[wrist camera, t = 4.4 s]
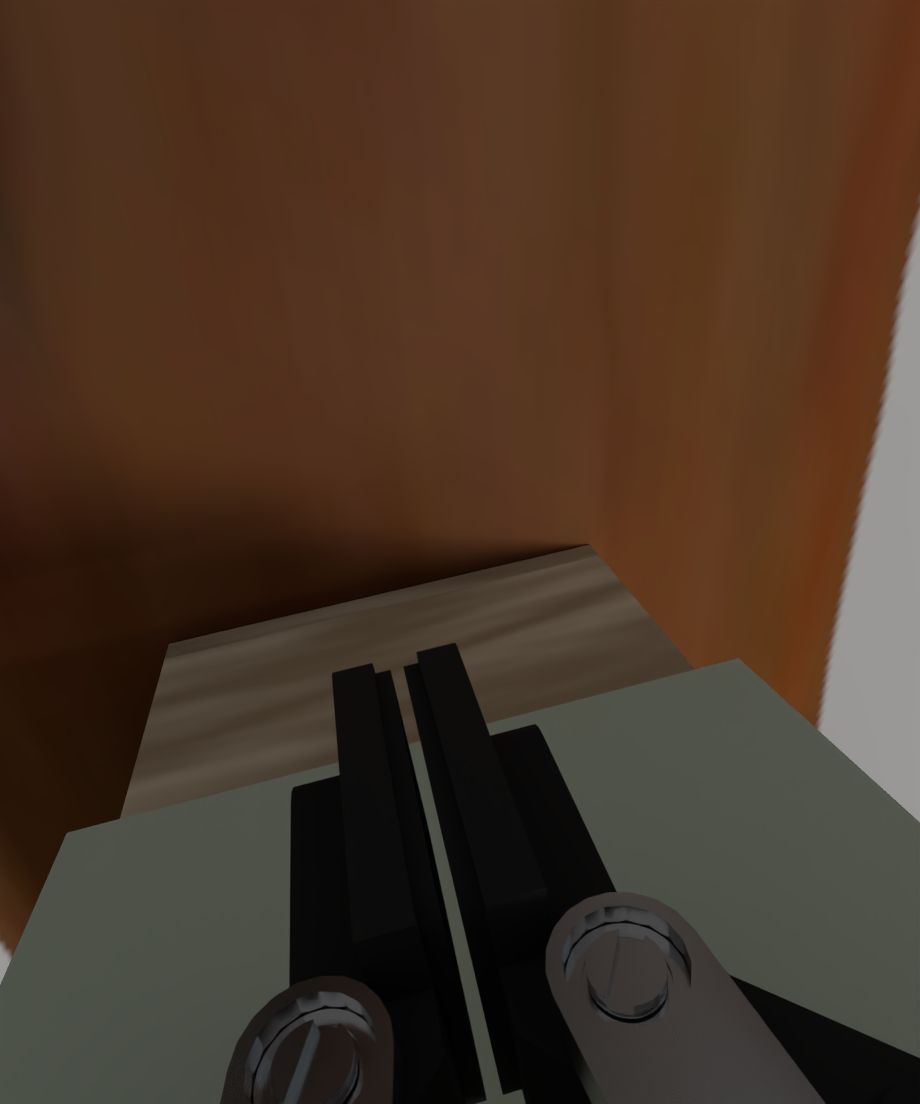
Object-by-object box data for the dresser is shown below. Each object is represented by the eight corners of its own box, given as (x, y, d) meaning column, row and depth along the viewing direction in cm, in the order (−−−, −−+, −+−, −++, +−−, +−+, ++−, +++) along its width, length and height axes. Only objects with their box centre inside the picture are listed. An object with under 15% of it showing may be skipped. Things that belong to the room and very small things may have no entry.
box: (168, 644, 27) (106, 867, 18) (589, 544, 28) (723, 702, 20) (295, 955, 35) (296, 1213, 26) (615, 863, 37) (717, 1076, 28)
